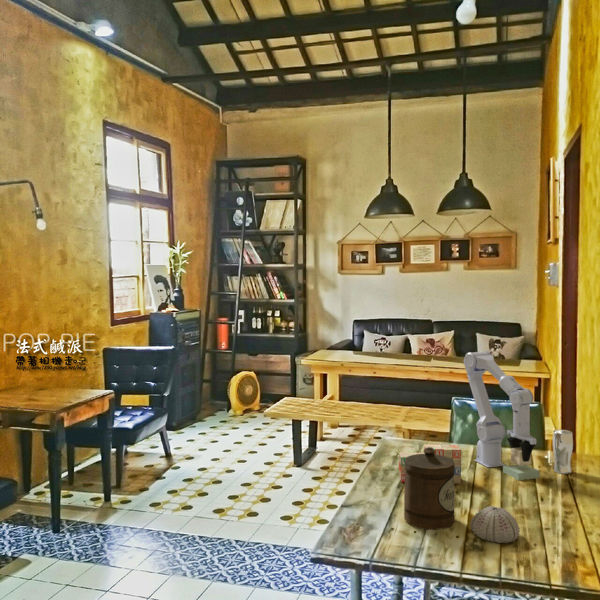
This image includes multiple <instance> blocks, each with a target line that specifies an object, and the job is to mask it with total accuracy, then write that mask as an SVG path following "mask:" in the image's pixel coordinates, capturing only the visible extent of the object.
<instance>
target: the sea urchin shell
mask: <svg viewBox="0 0 600 600" xmlns="http://www.w3.org/2000/svg"><path fill="white" fill-rule="evenodd" d="M469 525H470V528H471V531H472V532H473V533H474V535H476V536H477V537H478V538H479V537H480V539H481V540H484V541H485V540H487V541H489V542H491V543H497V544H508V543H511V542H513V541H514V542H515V541H516V540H517V539H518V538H519V535H520V531H521V530H520V529H521V528H520V526H519V524H518V522H517V521H516V518H515V517H514V516H513V515H512V514H511V512H509V511H507V509H505V508H503V507H500V506H499V507H498V506H494V505H493V506H492V505H489V506H487V507H484V508H482V509H481V510H478V512H476V513H475V514H474V515H473V517H472V519H471V520H470V523H469Z"/></svg>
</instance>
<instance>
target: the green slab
mask: <svg viewBox="0 0 600 600" xmlns="http://www.w3.org/2000/svg"><path fill="white" fill-rule="evenodd" d="M502 473H503V474H504V473H506V474H508V475H510V476H512V477H514V478H513V479H515V480H517V481H525V480H524V479H526V480H534V479H539V478H540V470H539V469H537V468H534V467H532V466H531V465H521V466H519V465H517V464H509V465H505V466H502ZM506 474H505V475H506ZM508 475H507V476H508ZM510 476H509V477H510ZM512 477H511V478H512Z"/></svg>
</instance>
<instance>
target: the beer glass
mask: <svg viewBox="0 0 600 600" xmlns="http://www.w3.org/2000/svg"><path fill="white" fill-rule="evenodd" d="M573 447H574V440H573V432H572V430H571V431H570V430H568V429H555V430H553V434H552V450H553V456H554V466H553V471H554V473H558V474H562V475H569V474H571V473H572V468H571V467H572V466H571V459H572V455H573ZM568 473H569V474H568Z"/></svg>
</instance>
